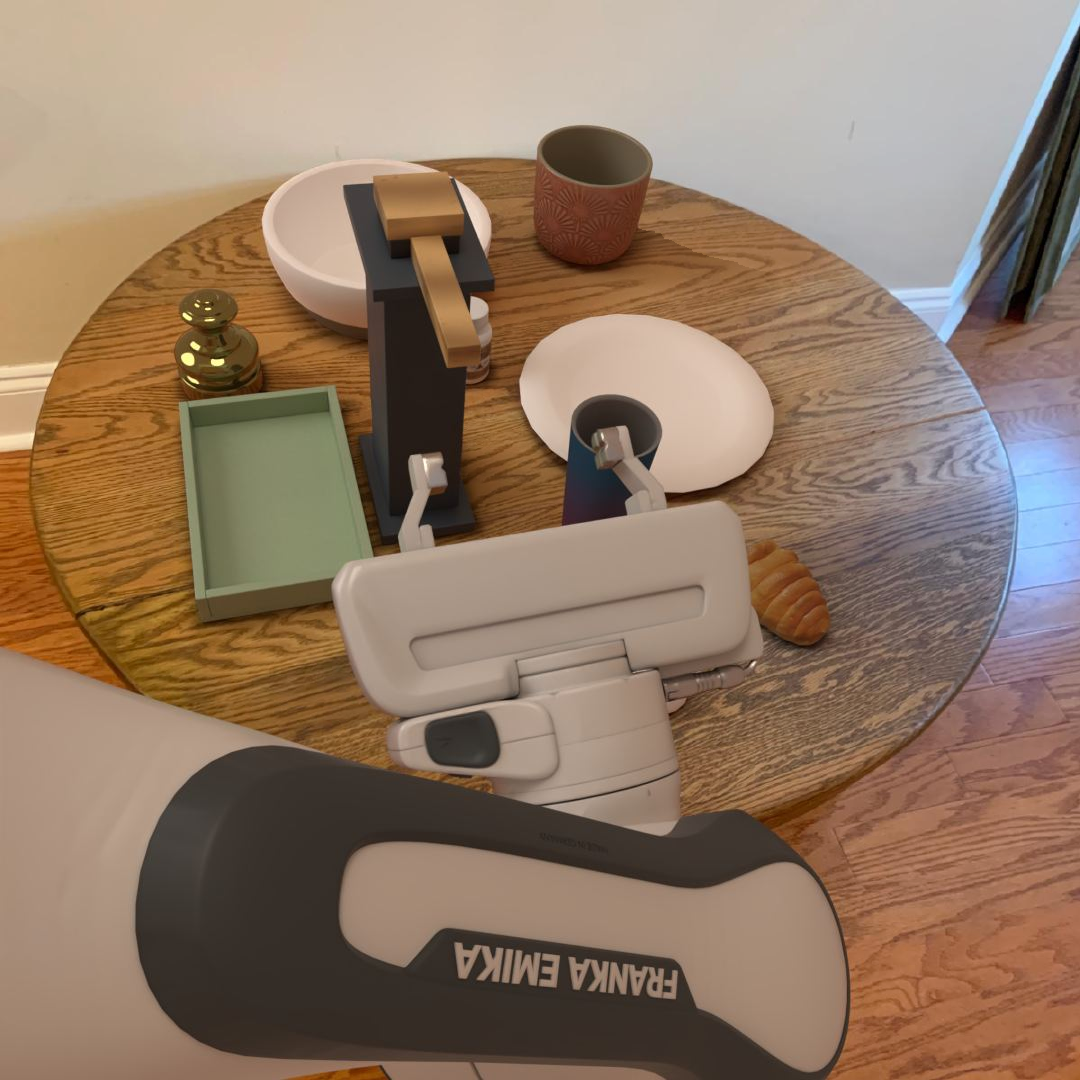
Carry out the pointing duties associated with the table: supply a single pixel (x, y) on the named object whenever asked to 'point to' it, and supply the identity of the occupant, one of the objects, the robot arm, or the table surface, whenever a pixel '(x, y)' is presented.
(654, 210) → the table surface
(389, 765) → the table surface
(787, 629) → the pastry
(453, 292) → the brush
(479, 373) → the pill bottle
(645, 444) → the cup
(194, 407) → the tray
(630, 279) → the table surface
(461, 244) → the stand
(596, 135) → the planter
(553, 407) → the plate
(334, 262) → the bowl
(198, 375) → the brass bell weight
